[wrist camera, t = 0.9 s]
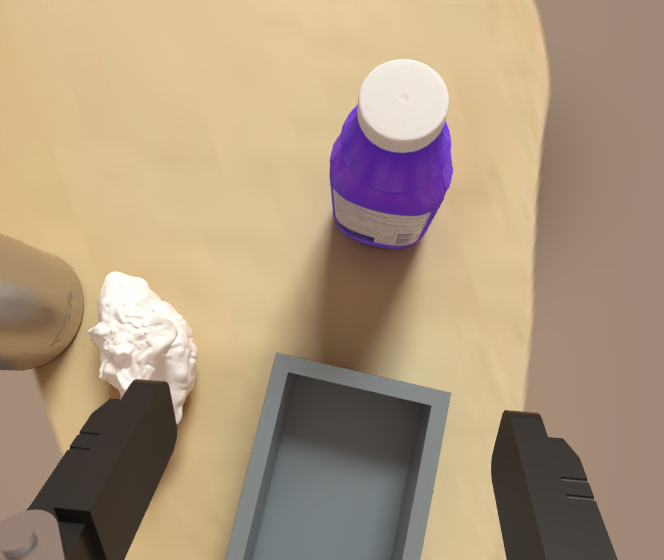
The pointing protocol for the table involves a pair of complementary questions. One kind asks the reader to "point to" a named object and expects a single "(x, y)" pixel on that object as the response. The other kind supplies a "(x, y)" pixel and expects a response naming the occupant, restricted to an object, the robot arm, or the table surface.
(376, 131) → the bottle
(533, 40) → the table surface
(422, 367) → the table surface
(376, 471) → the tote
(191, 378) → the bust
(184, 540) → the table surface
